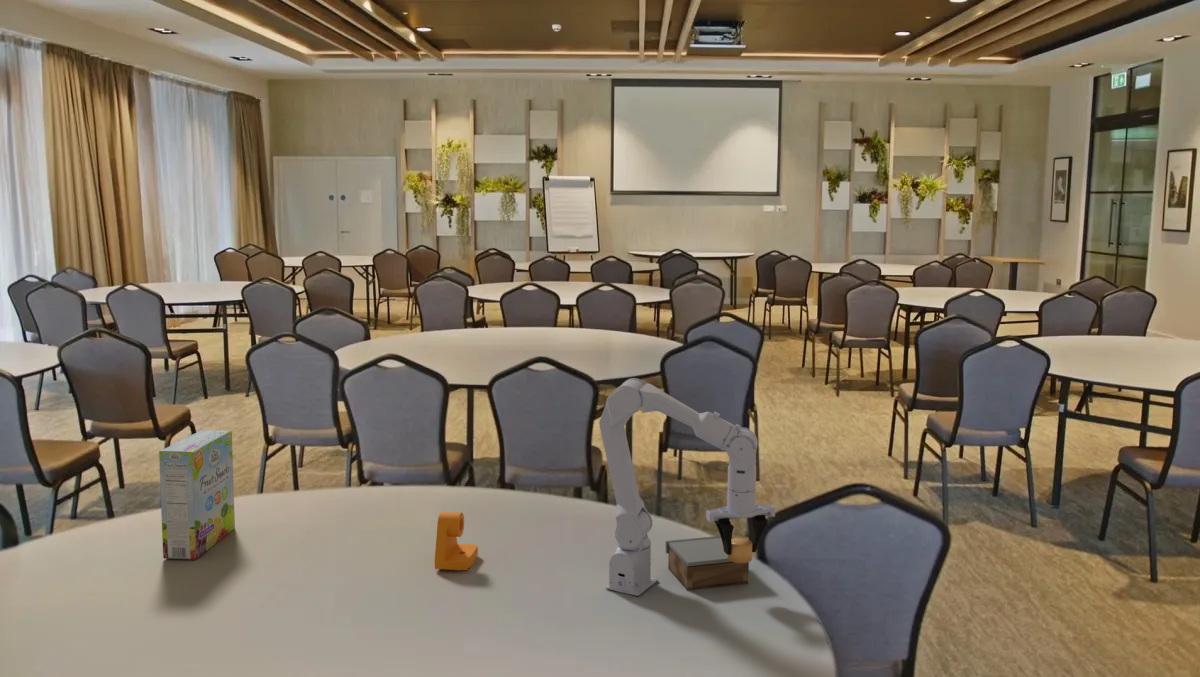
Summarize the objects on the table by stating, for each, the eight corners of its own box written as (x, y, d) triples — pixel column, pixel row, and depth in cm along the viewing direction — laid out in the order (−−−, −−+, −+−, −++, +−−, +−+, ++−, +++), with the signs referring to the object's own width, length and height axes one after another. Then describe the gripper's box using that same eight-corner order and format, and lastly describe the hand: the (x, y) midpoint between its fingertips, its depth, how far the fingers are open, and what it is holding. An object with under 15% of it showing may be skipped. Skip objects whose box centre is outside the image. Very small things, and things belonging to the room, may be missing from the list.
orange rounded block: (746, 564, 186) (747, 548, 186) (723, 560, 189) (724, 543, 188) (755, 556, 191) (755, 540, 190) (733, 552, 193) (733, 536, 193)
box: (748, 583, 197) (748, 561, 196) (687, 590, 193) (687, 567, 193) (726, 562, 208) (726, 541, 208) (668, 568, 205) (668, 547, 204)
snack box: (199, 561, 209) (192, 451, 206) (161, 560, 209) (154, 451, 206) (238, 528, 231) (233, 428, 227) (204, 528, 231) (198, 428, 227)
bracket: (466, 574, 202) (465, 521, 200) (434, 572, 203) (433, 520, 201) (478, 555, 213) (477, 506, 211) (448, 554, 213) (447, 504, 212)
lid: (750, 567, 196) (750, 556, 196) (686, 574, 193) (686, 562, 192) (726, 546, 209) (726, 535, 209) (665, 552, 205) (665, 541, 205)
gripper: (765, 480, 193) (763, 541, 195) (701, 485, 190) (700, 548, 192) (780, 490, 187) (778, 553, 189) (714, 495, 183) (712, 560, 185)
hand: (739, 551), depth 190 cm, fingers closed on orange rounded block, 5 cm apart
